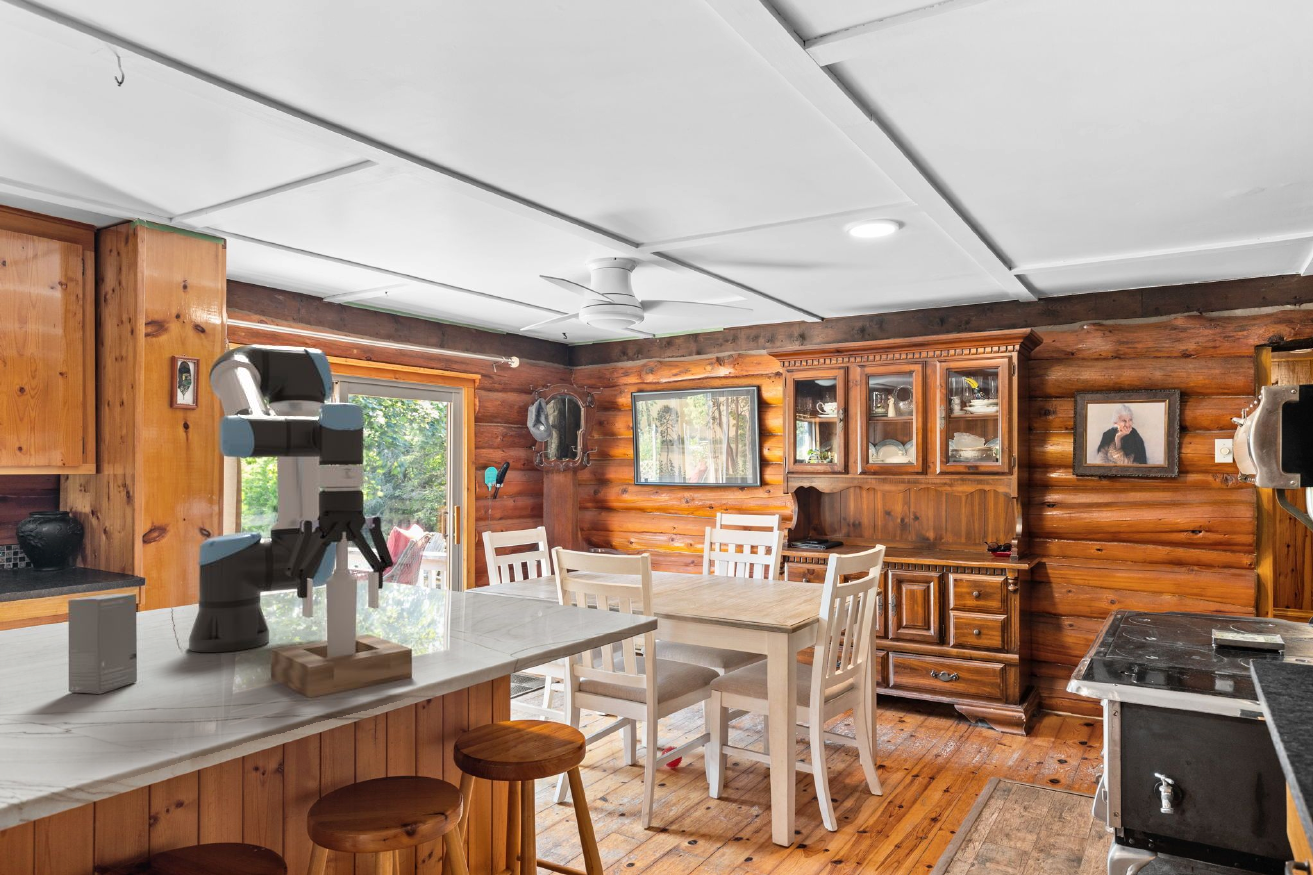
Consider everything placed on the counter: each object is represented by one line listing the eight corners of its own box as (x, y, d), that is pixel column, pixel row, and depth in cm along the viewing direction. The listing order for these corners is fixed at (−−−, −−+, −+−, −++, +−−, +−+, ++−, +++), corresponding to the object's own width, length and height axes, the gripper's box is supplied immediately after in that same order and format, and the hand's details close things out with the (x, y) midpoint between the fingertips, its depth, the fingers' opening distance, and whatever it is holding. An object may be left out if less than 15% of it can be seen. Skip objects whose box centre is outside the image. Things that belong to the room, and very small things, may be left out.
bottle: (363, 670, 149) (363, 530, 150) (341, 677, 145) (341, 533, 145) (341, 667, 152) (342, 529, 152) (319, 673, 147) (319, 532, 147)
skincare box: (99, 695, 138) (100, 599, 138) (63, 693, 139) (64, 598, 140) (140, 681, 146) (141, 591, 147) (106, 680, 148) (106, 590, 148)
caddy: (270, 677, 148) (271, 649, 149) (368, 659, 161) (368, 633, 161) (309, 697, 135) (309, 666, 135) (412, 677, 148) (411, 648, 148)
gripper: (280, 492, 138) (280, 624, 138) (412, 487, 154) (412, 605, 154) (265, 491, 144) (264, 618, 143) (393, 487, 160) (394, 601, 159)
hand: (341, 611), depth 148 cm, fingers open, 11 cm apart
